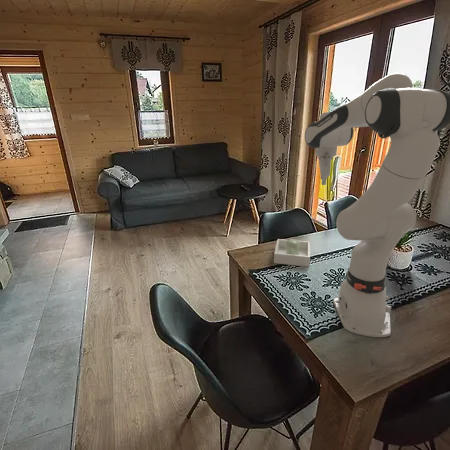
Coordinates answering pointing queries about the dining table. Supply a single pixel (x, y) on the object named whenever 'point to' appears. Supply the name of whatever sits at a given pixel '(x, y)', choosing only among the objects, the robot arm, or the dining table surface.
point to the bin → (292, 259)
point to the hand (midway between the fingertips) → (323, 181)
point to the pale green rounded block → (292, 247)
